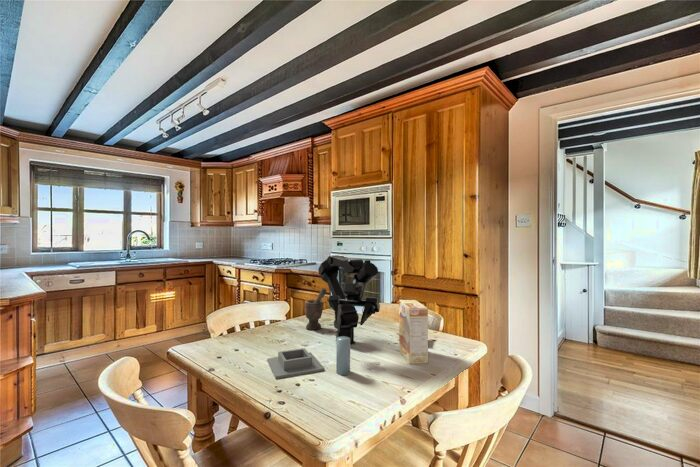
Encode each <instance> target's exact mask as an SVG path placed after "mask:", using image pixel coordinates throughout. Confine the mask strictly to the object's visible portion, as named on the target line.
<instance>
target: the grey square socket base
mask: <svg viewBox="0 0 700 467" xmlns="http://www.w3.org/2000/svg"><path fill="white" fill-rule="evenodd" d="M266 362H267V363H268V365H269V368H270V370H271V372H272V375H273V377H274V378H275V380H277V379H278V380H279V379H284V378H289V377H296V376H302V375H307V374H312V373H313V374H314V373H319V372H325V367H324V366H323V365H322V363H320V361H319V360H318V358H316V357H315V355H314V354H313V353H312V352H309V351H308V350H307V349H306V348H305V347H303V348H295V349H289V350H281V351H278V352H277V357H276V356H275V357H269V358H267V360H266Z"/></svg>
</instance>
